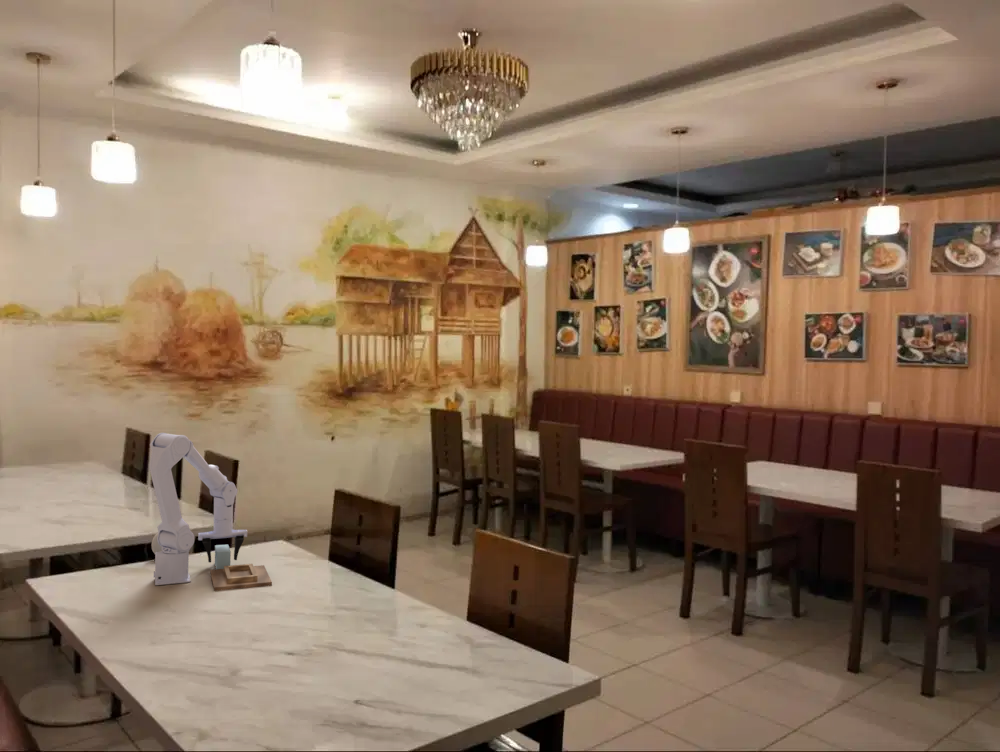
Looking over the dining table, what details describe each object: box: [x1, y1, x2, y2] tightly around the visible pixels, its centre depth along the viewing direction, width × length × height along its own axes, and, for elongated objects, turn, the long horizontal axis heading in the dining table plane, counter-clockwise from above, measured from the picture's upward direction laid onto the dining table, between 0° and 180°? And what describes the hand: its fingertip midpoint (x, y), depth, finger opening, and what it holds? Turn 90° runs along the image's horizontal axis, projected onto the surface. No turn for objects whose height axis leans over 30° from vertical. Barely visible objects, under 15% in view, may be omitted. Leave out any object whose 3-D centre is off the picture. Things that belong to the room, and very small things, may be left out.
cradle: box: [209, 563, 273, 592], centre depth 226 cm, size 16×18×2 cm
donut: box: [150, 531, 162, 555], centre depth 246 cm, size 10×4×10 cm, turn 139°
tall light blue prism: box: [214, 544, 232, 569], centre depth 238 cm, size 4×9×6 cm, turn 24°
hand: (222, 560), depth 238 cm, fingers open, 7 cm apart
